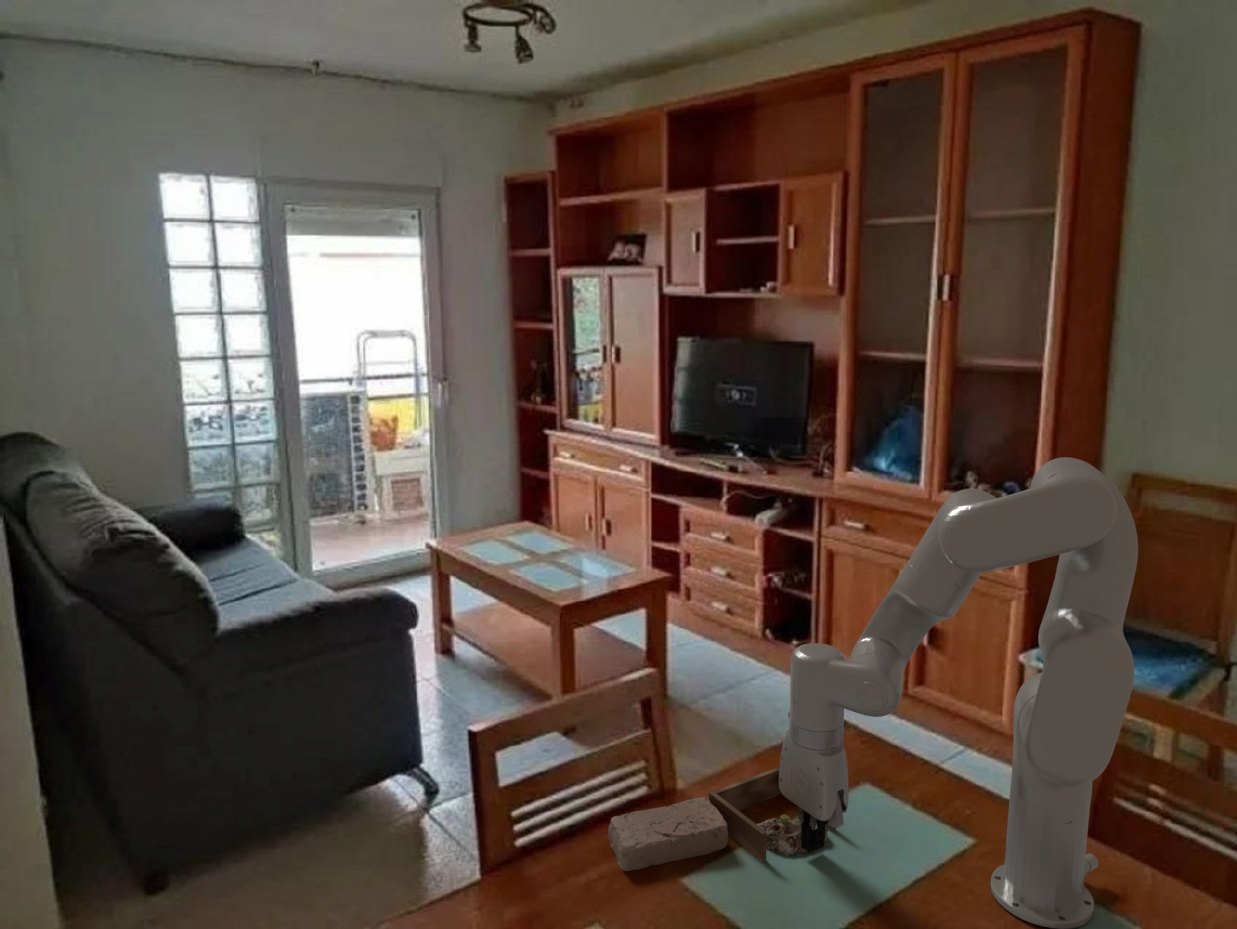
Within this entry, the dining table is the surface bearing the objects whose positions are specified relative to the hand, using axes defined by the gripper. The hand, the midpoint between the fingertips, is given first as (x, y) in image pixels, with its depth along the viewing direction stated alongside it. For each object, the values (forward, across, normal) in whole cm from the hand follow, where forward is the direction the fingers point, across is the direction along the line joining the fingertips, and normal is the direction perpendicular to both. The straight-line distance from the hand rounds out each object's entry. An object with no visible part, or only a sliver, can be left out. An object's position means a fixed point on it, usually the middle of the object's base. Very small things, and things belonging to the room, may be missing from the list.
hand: (812, 847), depth 131 cm
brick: (+2, -13, -16) cm, 21 cm away
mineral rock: (+2, -4, 0) cm, 5 cm away
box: (+1, -9, 0) cm, 9 cm away
